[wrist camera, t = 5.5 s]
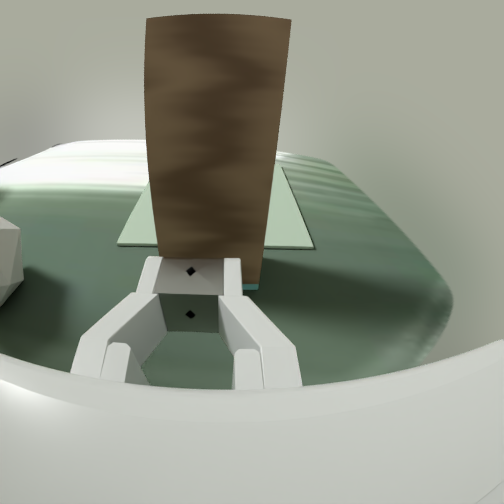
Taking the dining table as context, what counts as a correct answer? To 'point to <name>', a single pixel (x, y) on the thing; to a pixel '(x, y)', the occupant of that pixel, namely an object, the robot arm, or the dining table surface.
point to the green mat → (277, 232)
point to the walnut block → (213, 132)
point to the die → (9, 259)
